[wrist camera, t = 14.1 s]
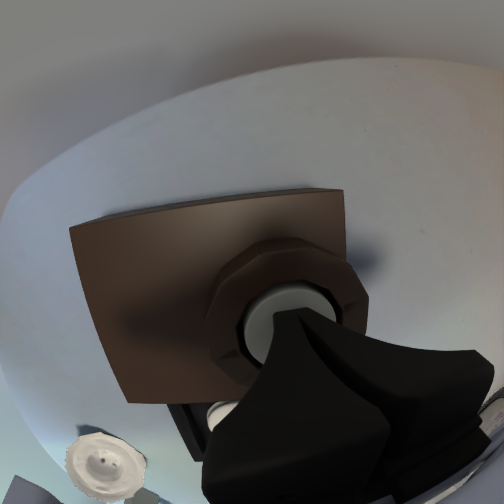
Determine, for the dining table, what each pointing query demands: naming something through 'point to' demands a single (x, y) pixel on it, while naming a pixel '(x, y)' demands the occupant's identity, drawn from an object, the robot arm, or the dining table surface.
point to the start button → (276, 300)
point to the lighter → (142, 497)
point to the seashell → (105, 467)
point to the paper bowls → (492, 417)
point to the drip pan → (193, 426)
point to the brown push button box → (207, 285)
